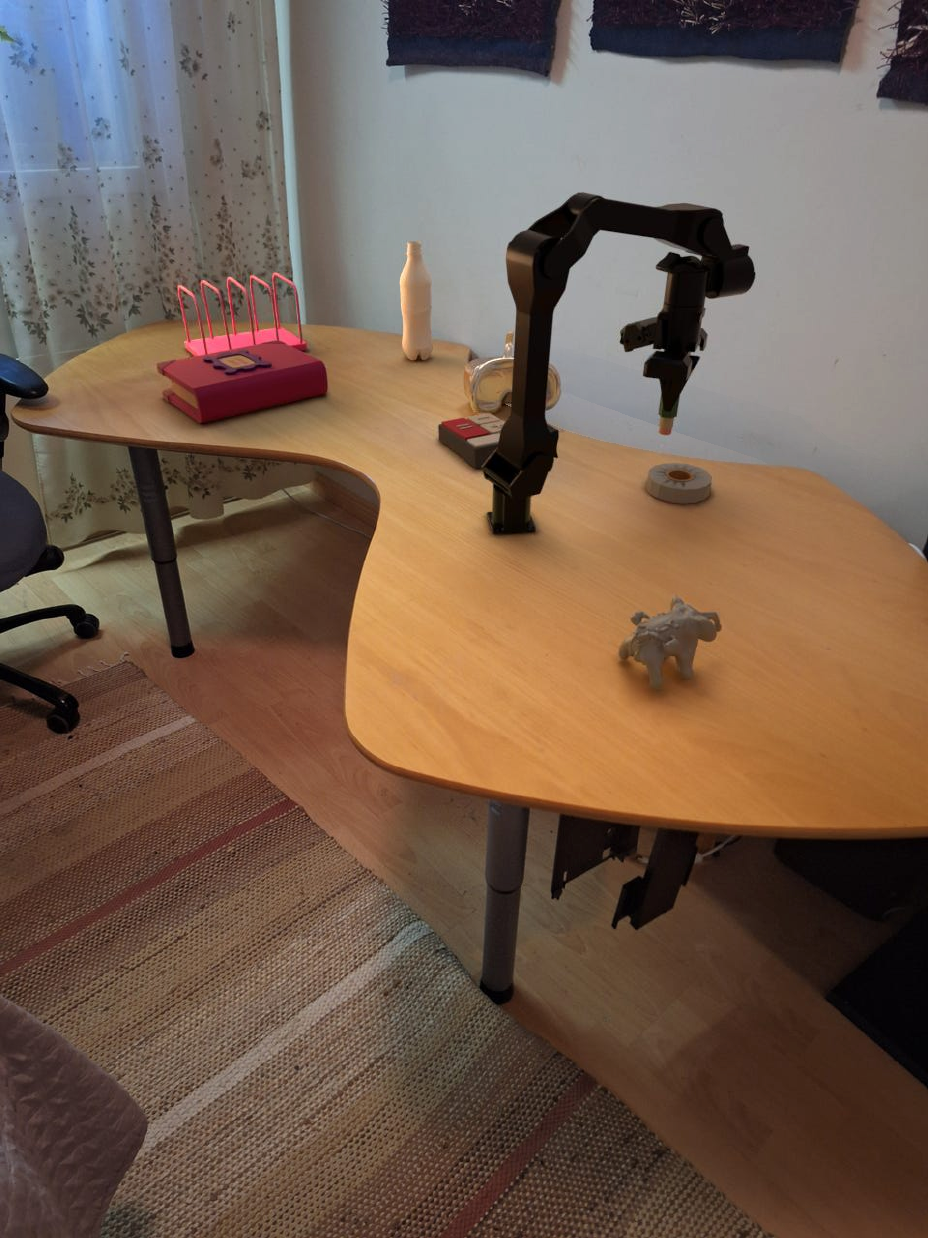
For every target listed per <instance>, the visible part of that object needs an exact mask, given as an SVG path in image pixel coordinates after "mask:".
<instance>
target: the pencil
mask: <svg viewBox="0 0 928 1238" xmlns="http://www.w3.org/2000/svg"><path fill="white" fill-rule="evenodd" d="M680 397H681V395H680V396H679V397H678V399H677V401H676V403H675V405H674V406H673V408H672V410H671V411H670V412H667V411H664V410H663V402H662V393H661V392H660V399H659V407H658V413H657V414H658V416H659V424H658V427H659V428H658V434H659V435H662V436H670V435H671V434H672V430H673V427H674V421H675V418H676V417H678V410H679V404H680Z"/></svg>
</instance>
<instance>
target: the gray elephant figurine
mask: <svg viewBox="0 0 928 1238" xmlns="http://www.w3.org/2000/svg"><path fill="white" fill-rule="evenodd" d="M642 619H646V620H644V621H642ZM630 622H631V623H632V624H633V625H634V626H636V627H635V631H633V632H632V633H630V635H628V636H627V637H626V638H625V639H624V640H623V641H622V642H621V644H620V645H619V647H618V657H619V658H620V660H622V661H626V660H628V659H629V658H630V657H633V661H634V662H636V663H641V664H642V665H643V666H645V667H646V670H647V673H648V677H649V687H650V688H651V689H652V690H654V691H660V690H661V689H663V688H664V685H665V679H664V676H663V667H662V666H663V663H664V660H669V659H670V657H674V659H675V663H676V666H677V670H678V676H679V677H680V678H681V680H686V681H687V680H690V679H692V678H693V676H694V668H693V664H694V660H695V655H696V650H697V647H698V643H699V640H700V641H702V642H706V643H711V642H714V641H715V640H716V639H717V636H718V633H720V632H721V631H722V629H723V628H722V627H723V626H722V623H721V619H720V617H719V614H718V613H717V612H716V611H708V612H705V611H703V612H702V611H699V610H698V609H696V608H695V607H693V606H692V605H691V604H687V603H686V604H685V602H684V600H683V599H682V598H680V597H679V596H678V595H677V594H676V593H675V594H674V595H673V596H672V598H671V601H670V611H667V612H661V613H656V614H655V615H654V616H649V615H648V614H647V613H645V612H644V611H642V610H640V611H635V612H634V613H633V614H632V615H631V616H630Z"/></svg>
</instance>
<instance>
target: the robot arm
mask: <svg viewBox="0 0 928 1238" xmlns="http://www.w3.org/2000/svg"><path fill="white" fill-rule="evenodd" d="M600 231H603V232H609V233H616V234H624V235H630V236H636V237H642V238H643V237H645V238H650V239H654V240H656V241H657V242H659V243H660V244H663V245H666V246H668V247H670V248H673V249H677V250H682V251H684V252H685V253H688V254H692V255H685V256H681V254H680V253H676V252H672V251H669V252H668V253H667V254H666V255H665V257H664V258H662V259H660V260H659V261H658V262H657V264H655V269H656V270H657V271H660V272H664V273H667V274H666V281H665V290H664V297H663V306H662V308H661V310H660V311H659V312H658V313H657V316H654V317H648V318H645V319H642V320H641V319H640V320H638V321H634V322H631V323H627V324H625V325H624V326H623V327H622V328H621V329H620V331H619V334H620V335H619V336H620V339H619V344H620V345H622V346H623V350H624V352H625V353H631V352H633V351H634V350H637V349H640V348H645V347H648V346H649V347H650V346H652V350H655V351H653V353H652V354H650V355H649V356H648V357H647V359H646V360H645V361H644V363H643V370H642V377H645V378H648V379H657V380H659V385H660V394H661V393H662V402H663V410H664V411H667V412H670V411H671V410H672V408H673V406H674V405H675V403H676V401H677V399H678V397H679V396H680V397H681V394H682V392H683V390H684V388H685V387H686V385H687V383H688V382H689V379H690V378H691V376H692V374H693V372H694V370H695V368H696V367H697V365H698V363H699V361H700V360H701V356H700V355H693V354H692V353H696V352H697V350H698V348H699V351H700V352H704V351H705V349H706V348H707V342H708V333H707V332H706V330H705V329H704V328H703V327H702V322H703V319H704V317H705V315H706V307H705V304H706V299H709V300H714V299H721V298H728V297H733V296H739V295H743V294H744V295H745V294H746V293H747V292H749V291H750V289H751V288H752V287H753V285H754V283H755V279H756V273H757V272H756V271H755V263H754V261H753V259H752V257H751V256H750V255H749V252H750V246H749V245H745V244H741V243H737V244H736V243H735V244H732V243H731V241H730V238H729V235H728V233H727V229H726V228H725V220H724V213H723V212H722V211H721V210H720V209H718V208H715V207H710V206H704V205H699V204H694V203H688V202H680V203H667V204H665V205H661V206H650V205H647V204H646V205H645V204H640V203H634V202H629V201H622V200H616V199H610V198H605V197H603V196H602V195H598V194H593V193H589V192H584V191H581V192H576V193H575V194H573V195H571V196H570V197H569V198H567V200H566V201H564V202H563V203H562V204H561V205H560V206H559V207H557V208H555V209H554V210H552V211H550V212H549V213H547V214H545V215H544V216H542V217H540V218H539V219H537V220H536V221H535V222H533V223H532V224H531V225H530V226H529V227H528V228H527V229H526V230H522V231H520V232H518V233H517V234H515V236H514V237H513V238H512V239H511V241H509V242H508V244H507V247H506V251H505V266H506V276H507V284H508V288H509V290H510V293H511V296H512V299H513V301H514V304H515V327H514V328H515V329H514V342H513V356H514V361H513V380H512V399H511V404H510V412H509V415H508V417H507V418H506V420H505V421H504V422H505V423H504V425H503V427H502V428H501V432H500V437H499V442H498V447H497V448H496V450H495V451H494V452H493V453H492V455H491V456H490V457H489V458H488V460H487V461H486V462H485V463H484V465H483V466H482V467H481V472H482V474H483V478H484V479H486V480H487V481H489V482H490V483H492V501H491V505H492V507H491V511H487V512H486V517H487V521H488V524H489V527H490V530H491V533H492V535H506V534H522V533H523V534H524V533H535V532H536V531H537V527H536V524H535V522H534V520H533V517H532V515H531V509H532V497H534V496H539V495H541V494H542V491H543V488H544V486H545V484H546V480H547V477H548V475H549V473H550V472H552V469H553V468H554V467H553V466H554V462H555V459H559V455H558V443H559V439H560V432H559V430H558V429H557V428H555V427H554V426H552V425H551V424H548V422H547V417H546V412H547V410H546V398H547V386H548V373H549V363H550V358H551V348H552V347H551V346H552V335H553V334H552V332H553V323H554V322H553V321H554V320H553V319H554V312H555V308H556V307H557V306H558V304H559V302H560V300H561V299H562V296H563V295H564V293H565V291H566V288H567V285H568V280H569V276H570V271H571V268H573V266H575V265H576V264H577V263H578V262H579V261H580V260H581V259H582V258H583V257H584V256H585V255H586V253H587V251H588V249H589V248H590V245H591V243H592V241H593V239H594V237H595V236H596V235H598V233H599V232H600ZM697 256H699V257H701V258H698V257H697Z"/></svg>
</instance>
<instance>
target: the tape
mask: <svg viewBox="0 0 928 1238" xmlns="http://www.w3.org/2000/svg"><path fill="white" fill-rule="evenodd" d="M712 483H713V476H712V475H711V474H710V473H709V472H708V471H707V470H706V469H703V468H702V467H699V466H697V465H692V464H689V463H680V462H667V463H661V464H657V465H654V466H652V467H651V468H650V469H648V472H647V479H646V485H645V490H646V491H647V492H648V493H649V495H651V496H652V497H654V498H656V499H658V500H660V501H665V502H667V503H672V504H680V505H681V504H682V505H683V504H685V505H686V504H696V503H699V502H702V501H704V500H706V499H707V498H708V497H709V496H710V493H711V489H712V488H711V487H712Z"/></svg>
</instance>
